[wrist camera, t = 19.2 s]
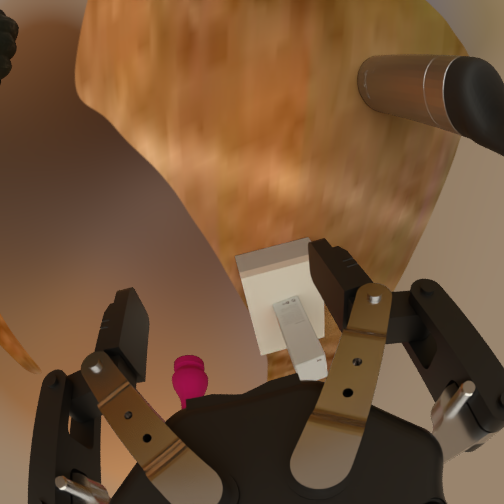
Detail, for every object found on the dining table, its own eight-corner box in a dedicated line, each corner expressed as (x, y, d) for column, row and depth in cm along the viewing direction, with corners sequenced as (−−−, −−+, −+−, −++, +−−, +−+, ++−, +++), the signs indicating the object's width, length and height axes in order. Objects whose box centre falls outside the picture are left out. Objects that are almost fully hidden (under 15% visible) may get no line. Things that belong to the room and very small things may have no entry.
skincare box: (271, 303, 44) (294, 365, 34) (297, 294, 44) (326, 353, 34) (279, 328, 47) (300, 387, 37) (303, 319, 48) (329, 376, 37)
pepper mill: (208, 371, 60) (220, 454, 43) (176, 375, 59) (181, 457, 42) (203, 351, 56) (214, 441, 39) (168, 355, 55) (170, 445, 38)
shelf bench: (308, 237, 46) (322, 257, 41) (313, 315, 56) (324, 336, 51) (234, 256, 46) (240, 278, 41) (254, 332, 55) (261, 355, 50)
